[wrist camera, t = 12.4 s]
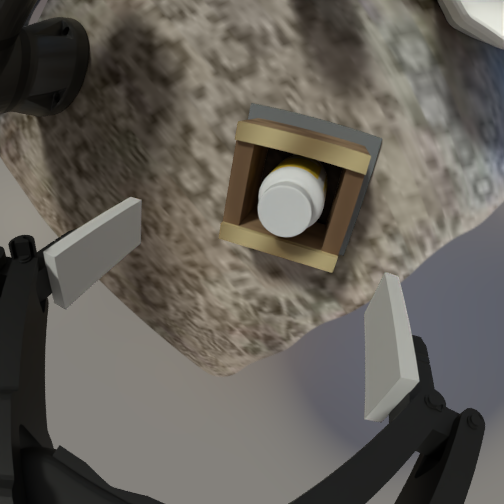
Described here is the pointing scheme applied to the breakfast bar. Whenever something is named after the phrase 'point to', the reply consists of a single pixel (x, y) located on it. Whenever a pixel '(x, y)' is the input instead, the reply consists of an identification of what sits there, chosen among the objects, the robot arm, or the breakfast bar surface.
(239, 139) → the wooden box
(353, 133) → the flat square frame
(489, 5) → the bowl
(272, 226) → the supplement bottle
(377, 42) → the breakfast bar surface
